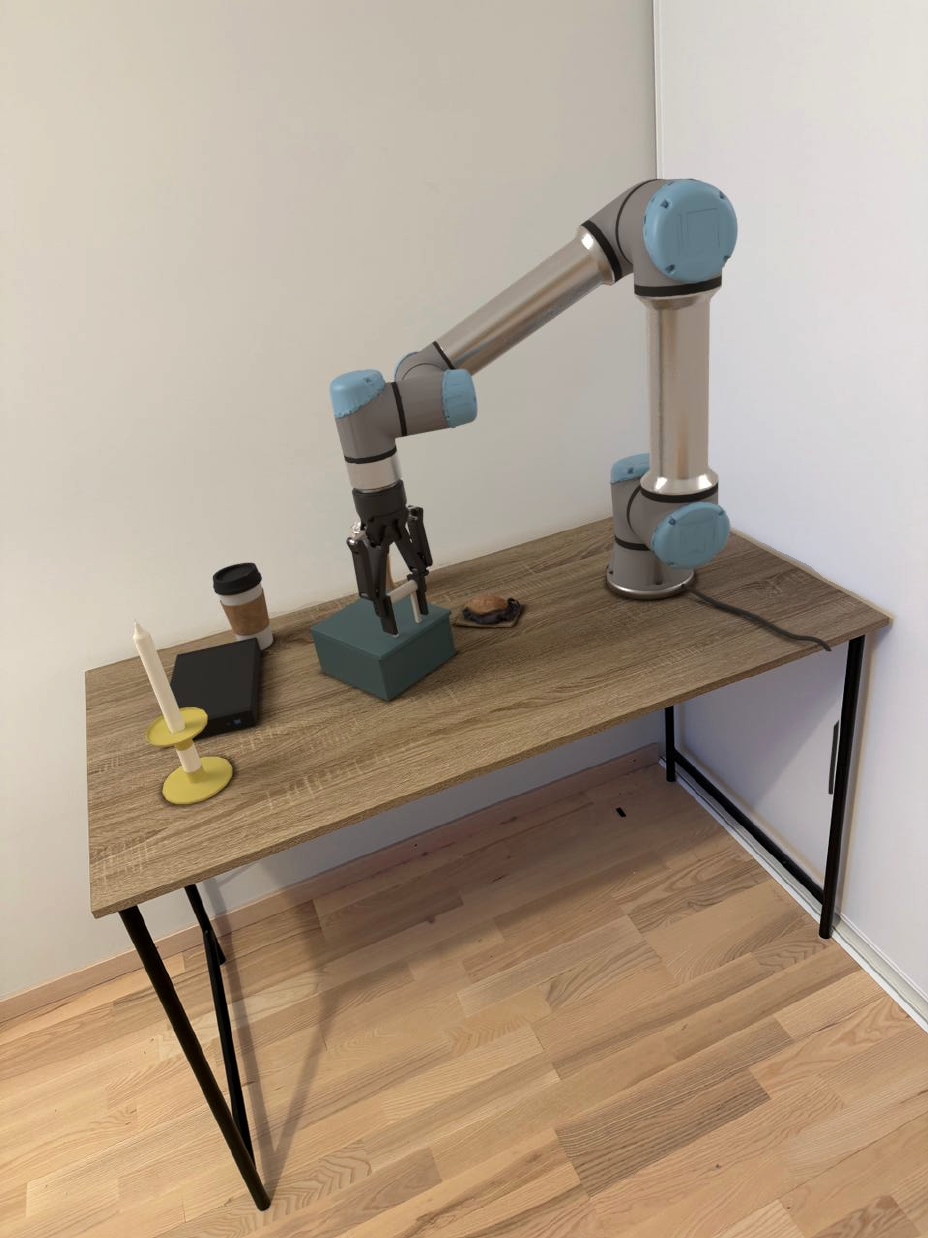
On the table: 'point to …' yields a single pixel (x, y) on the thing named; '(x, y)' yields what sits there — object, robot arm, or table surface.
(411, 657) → the bread box
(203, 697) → the external hard drive
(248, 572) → the coffee cup
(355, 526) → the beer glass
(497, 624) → the bread roll
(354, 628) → the bread box lid
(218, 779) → the candle
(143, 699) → the table surface
